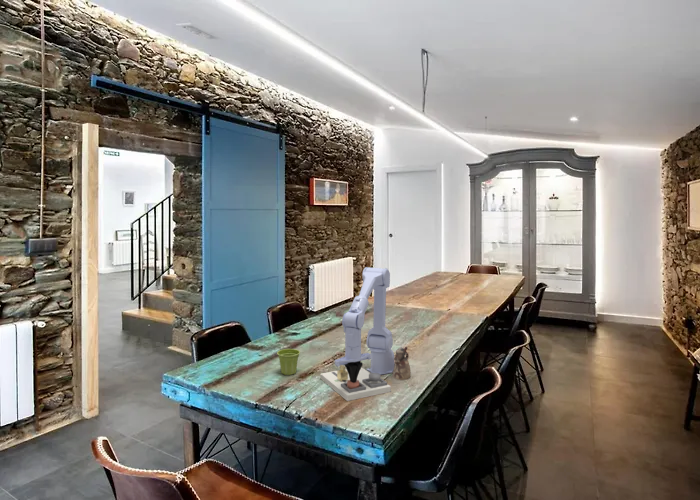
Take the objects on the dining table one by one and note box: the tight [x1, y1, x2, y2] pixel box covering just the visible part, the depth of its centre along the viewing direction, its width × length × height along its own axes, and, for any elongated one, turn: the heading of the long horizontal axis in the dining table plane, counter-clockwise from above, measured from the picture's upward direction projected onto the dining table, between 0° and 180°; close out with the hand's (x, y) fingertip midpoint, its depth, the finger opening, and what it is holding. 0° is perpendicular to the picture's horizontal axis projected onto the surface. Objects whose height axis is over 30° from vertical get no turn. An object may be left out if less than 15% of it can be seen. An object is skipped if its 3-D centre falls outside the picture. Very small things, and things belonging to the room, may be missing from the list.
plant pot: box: [276, 348, 301, 376], centre depth 179 cm, size 9×9×9 cm
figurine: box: [392, 346, 411, 381], centre depth 174 cm, size 7×7×12 cm
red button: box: [347, 380, 359, 389], centre depth 158 cm, size 4×4×2 cm
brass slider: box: [336, 365, 348, 381], centre depth 165 cm, size 3×3×5 cm
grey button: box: [369, 372, 382, 382], centre depth 162 cm, size 4×4×2 cm
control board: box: [319, 366, 392, 402], centre depth 166 cm, size 18×24×3 cm
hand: (353, 381), depth 158 cm, fingers closed, pressing on red button
